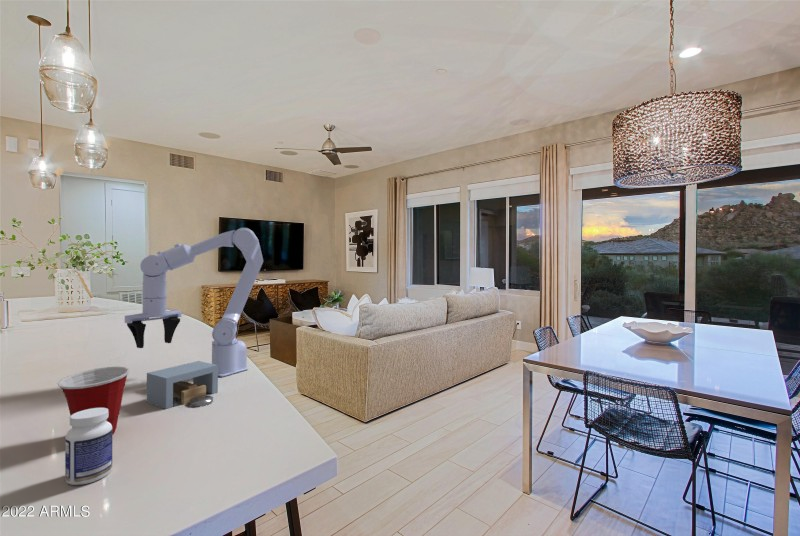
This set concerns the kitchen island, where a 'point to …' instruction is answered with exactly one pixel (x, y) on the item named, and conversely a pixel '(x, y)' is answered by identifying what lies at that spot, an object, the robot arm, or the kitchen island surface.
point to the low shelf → (164, 379)
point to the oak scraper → (187, 391)
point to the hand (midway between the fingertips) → (154, 345)
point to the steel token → (200, 401)
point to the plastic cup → (96, 391)
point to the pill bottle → (88, 447)
